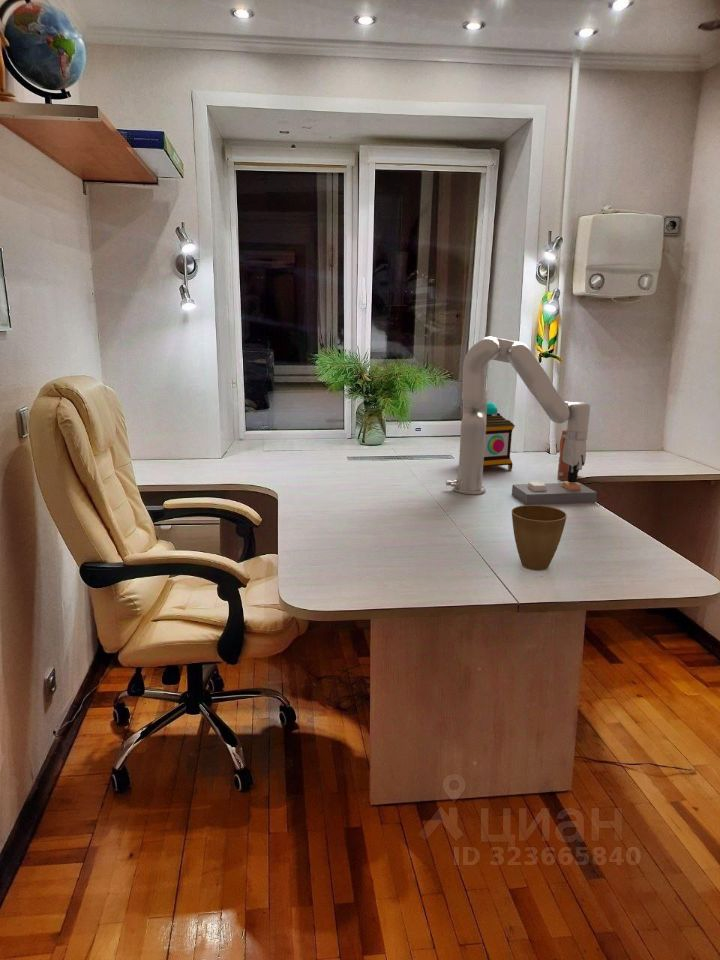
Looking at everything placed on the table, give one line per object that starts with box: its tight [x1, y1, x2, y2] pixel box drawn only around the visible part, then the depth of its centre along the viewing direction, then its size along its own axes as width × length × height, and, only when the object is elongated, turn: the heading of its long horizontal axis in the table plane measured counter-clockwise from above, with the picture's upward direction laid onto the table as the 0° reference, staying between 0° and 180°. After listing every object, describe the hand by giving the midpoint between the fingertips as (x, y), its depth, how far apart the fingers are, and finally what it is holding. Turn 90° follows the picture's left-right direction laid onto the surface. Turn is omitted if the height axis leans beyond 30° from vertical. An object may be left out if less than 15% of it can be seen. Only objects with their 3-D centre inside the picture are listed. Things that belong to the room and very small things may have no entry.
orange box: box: [556, 427, 568, 481], centre depth 282 cm, size 21×7×15 cm
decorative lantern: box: [483, 401, 516, 471], centre depth 295 cm, size 20×20×30 cm
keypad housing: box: [511, 482, 598, 505], centre depth 253 cm, size 28×14×4 cm, turn 100°
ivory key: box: [527, 481, 546, 491], centre depth 251 cm, size 5×5×3 cm
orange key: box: [561, 480, 582, 490], centre depth 253 cm, size 5×5×3 cm
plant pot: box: [511, 504, 568, 571], centre depth 185 cm, size 15×15×16 cm
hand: (572, 481), depth 253 cm, fingers closed
